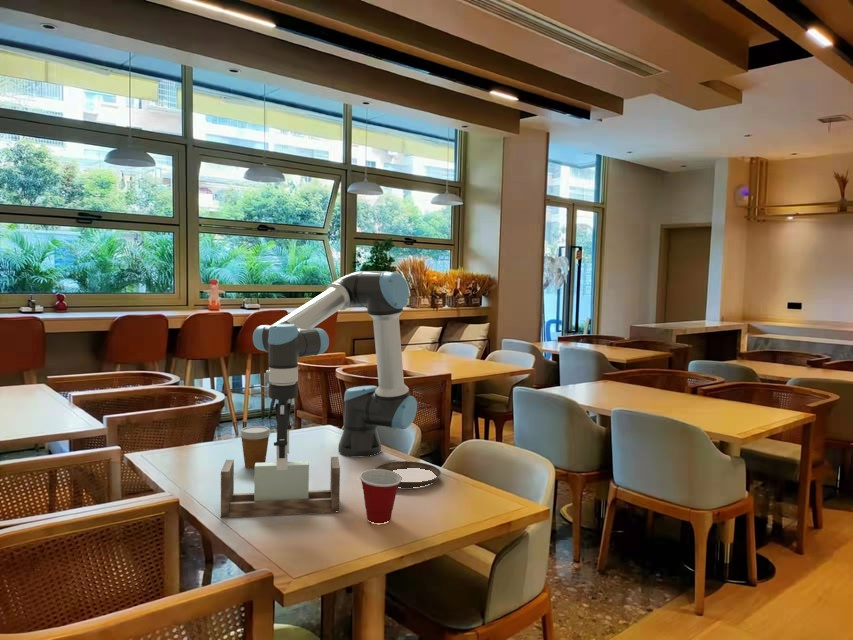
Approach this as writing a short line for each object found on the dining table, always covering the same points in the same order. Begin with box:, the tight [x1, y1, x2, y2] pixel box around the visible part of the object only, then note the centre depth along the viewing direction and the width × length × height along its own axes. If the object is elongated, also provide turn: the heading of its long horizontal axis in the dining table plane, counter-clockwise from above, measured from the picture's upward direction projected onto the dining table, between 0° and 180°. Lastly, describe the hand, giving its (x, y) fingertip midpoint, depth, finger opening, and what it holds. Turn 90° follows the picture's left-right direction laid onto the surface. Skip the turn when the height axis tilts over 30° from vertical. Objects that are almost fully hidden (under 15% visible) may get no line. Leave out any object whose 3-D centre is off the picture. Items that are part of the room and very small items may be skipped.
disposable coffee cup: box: [239, 425, 271, 470], centre depth 197 cm, size 10×10×12 cm
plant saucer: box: [374, 460, 442, 488], centre depth 188 cm, size 21×21×3 cm
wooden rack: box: [220, 456, 341, 518], centre depth 163 cm, size 30×10×12 cm, turn 101°
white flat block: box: [253, 460, 310, 501], centre depth 163 cm, size 14×3×11 cm, turn 101°
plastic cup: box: [359, 468, 402, 523], centre depth 156 cm, size 11×11×12 cm
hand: (283, 461), depth 163 cm, fingers open, 13 cm apart
